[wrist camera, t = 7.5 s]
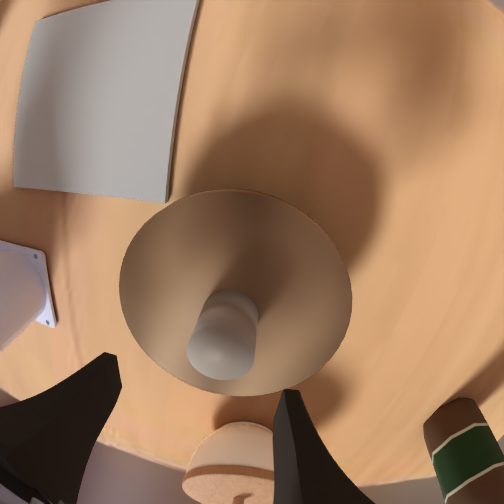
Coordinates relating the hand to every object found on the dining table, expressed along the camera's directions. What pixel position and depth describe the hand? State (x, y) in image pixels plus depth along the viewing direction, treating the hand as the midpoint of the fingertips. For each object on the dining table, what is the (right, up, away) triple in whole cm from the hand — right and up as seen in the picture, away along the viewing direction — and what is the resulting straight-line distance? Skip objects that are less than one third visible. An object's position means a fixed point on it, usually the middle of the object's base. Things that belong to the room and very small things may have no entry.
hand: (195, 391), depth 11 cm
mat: (-10, +17, +5) cm, 20 cm away
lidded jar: (+2, -14, +16) cm, 22 cm away
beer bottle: (+26, -14, +15) cm, 33 cm away
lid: (+1, +3, +5) cm, 6 cm away
